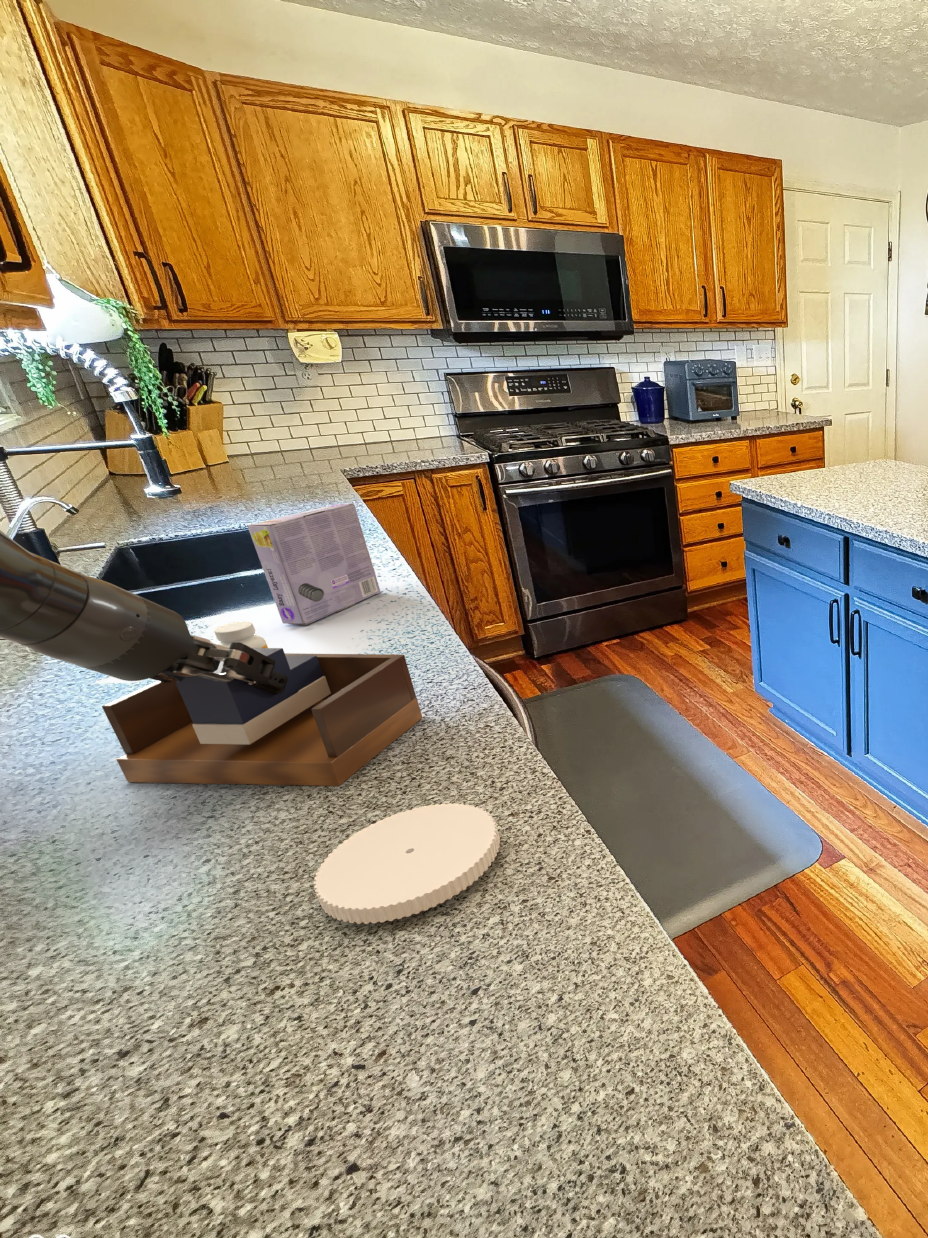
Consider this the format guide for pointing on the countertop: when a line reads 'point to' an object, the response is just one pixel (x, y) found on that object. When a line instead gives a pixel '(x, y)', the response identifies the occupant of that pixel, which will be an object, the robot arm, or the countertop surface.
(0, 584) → the robot arm
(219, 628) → the supplement bottle
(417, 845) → the plastic lid
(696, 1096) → the countertop surface
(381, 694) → the wooden tray
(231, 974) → the countertop surface
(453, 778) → the countertop surface
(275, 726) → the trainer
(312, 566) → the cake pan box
